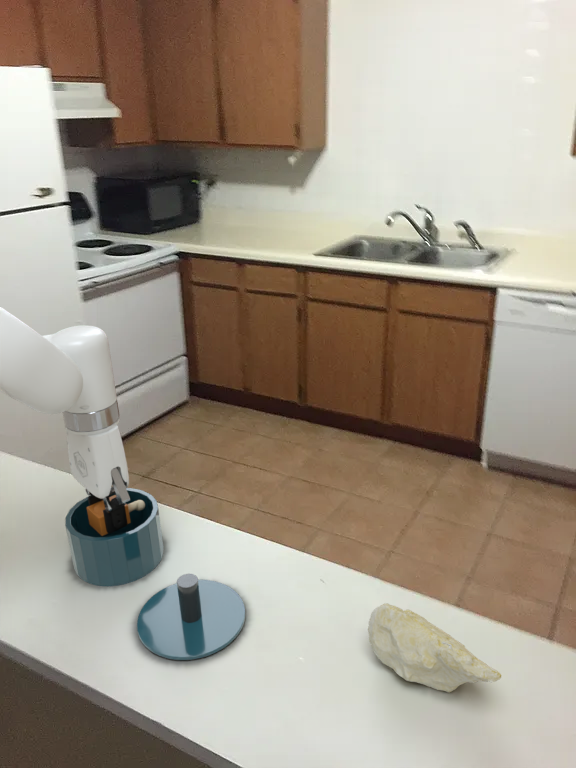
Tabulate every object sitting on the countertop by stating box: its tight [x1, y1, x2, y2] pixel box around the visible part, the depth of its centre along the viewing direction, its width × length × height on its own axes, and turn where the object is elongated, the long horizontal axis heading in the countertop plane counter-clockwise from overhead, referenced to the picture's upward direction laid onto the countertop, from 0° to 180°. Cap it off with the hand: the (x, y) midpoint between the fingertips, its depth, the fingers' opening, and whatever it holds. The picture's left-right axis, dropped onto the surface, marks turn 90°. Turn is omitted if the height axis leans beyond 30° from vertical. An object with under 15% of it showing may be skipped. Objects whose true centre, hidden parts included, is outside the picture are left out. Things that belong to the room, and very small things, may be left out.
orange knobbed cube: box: [87, 495, 145, 536], centre depth 102 cm, size 8×4×4 cm, turn 132°
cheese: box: [367, 602, 502, 693], centre depth 81 cm, size 15×7×15 cm
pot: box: [64, 487, 165, 587], centre depth 103 cm, size 14×14×8 cm
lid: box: [136, 573, 246, 661], centre depth 90 cm, size 15×15×7 cm
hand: (109, 521), depth 101 cm, fingers closed on orange knobbed cube, 4 cm apart
